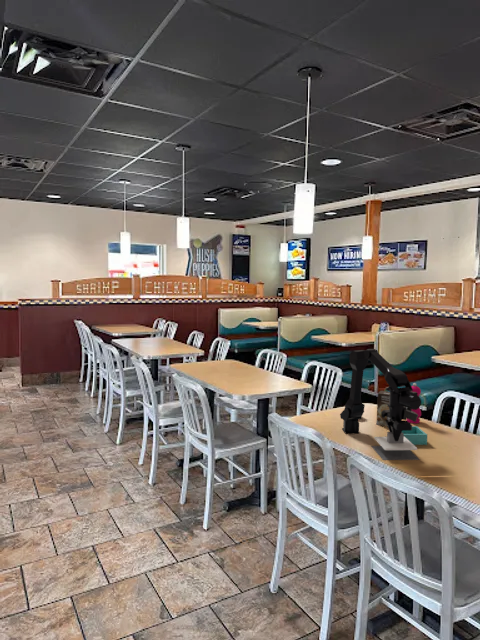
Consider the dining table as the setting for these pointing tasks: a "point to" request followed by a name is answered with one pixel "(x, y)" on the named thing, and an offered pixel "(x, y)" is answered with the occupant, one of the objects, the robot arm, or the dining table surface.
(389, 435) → the lid
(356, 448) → the dining table surface
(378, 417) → the coffee box
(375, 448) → the mat
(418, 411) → the pepper mill
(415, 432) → the dish
